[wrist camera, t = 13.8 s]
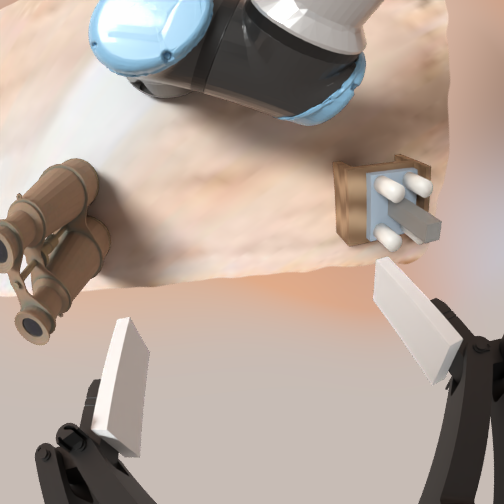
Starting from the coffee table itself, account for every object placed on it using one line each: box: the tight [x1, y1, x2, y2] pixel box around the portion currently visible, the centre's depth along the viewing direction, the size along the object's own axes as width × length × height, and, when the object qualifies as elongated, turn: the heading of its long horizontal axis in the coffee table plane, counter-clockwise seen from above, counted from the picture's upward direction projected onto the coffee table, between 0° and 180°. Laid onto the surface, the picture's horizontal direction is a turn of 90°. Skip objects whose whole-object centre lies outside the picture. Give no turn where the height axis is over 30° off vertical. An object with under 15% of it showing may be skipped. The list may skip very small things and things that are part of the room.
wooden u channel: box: [333, 154, 431, 247], centre depth 49 cm, size 14×15×10 cm
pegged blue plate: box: [366, 167, 442, 252], centre depth 42 cm, size 12×10×12 cm
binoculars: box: [0, 158, 111, 345], centre depth 35 cm, size 21×10×25 cm, turn 1°
